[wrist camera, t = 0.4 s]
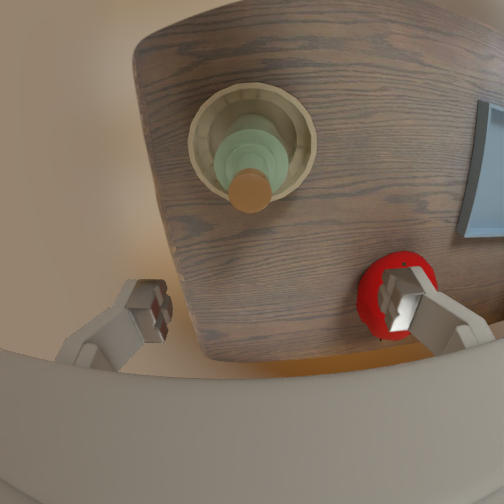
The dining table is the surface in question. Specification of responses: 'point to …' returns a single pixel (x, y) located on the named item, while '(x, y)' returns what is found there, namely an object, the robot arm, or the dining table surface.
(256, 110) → the bowl
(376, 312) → the tomato
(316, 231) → the dining table surface
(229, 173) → the bottle
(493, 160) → the tray
